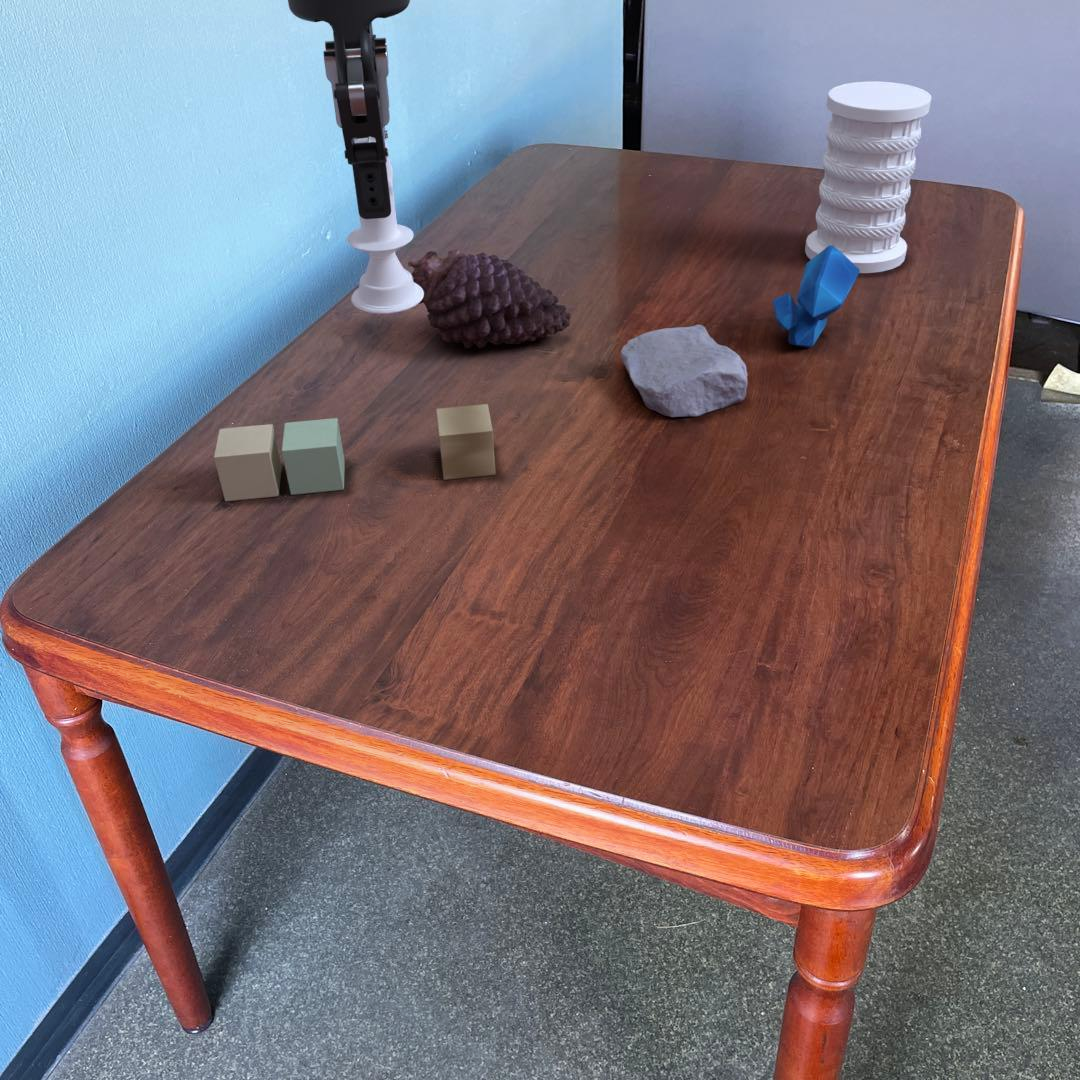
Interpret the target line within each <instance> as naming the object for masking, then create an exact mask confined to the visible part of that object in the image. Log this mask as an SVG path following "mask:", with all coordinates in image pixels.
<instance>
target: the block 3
mask: <svg viewBox="0 0 1080 1080" xmlns="http://www.w3.org/2000/svg"><path fill="white" fill-rule="evenodd" d="M435 411H436V420H437V421H436V422H437V429H438V430H437V431H438V440H439V449H440V458H441V459H440V460H441V468H442V469H441V470H442V479H443V480H444V481H447V480H456V479H467V478H477V477H486V476H487V477H489V476H496V462H495V461H496V460H495V459H496V458H495V447H494V445H495V444H494V432H493V431H494V430H493V425H492V419H491V413H490V409H489V404H488V403H485V404H484V403H483V404H474V405H473V404H472V405H462V406H461V405H460V406H452V407H441V408H436V409H435Z"/></svg>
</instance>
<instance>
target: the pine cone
mask: <svg viewBox="0 0 1080 1080" xmlns="http://www.w3.org/2000/svg"><path fill="white" fill-rule="evenodd" d="M438 256H439V255H438V253H437V251H433V250H430V251H427V252H426V253H425V254H424V255H423V256H422V257H421V258H420V259H418V260H410V261H408V262H407V266H408V267H412V268H413V271H412V273H411V276H412V278H413V282H414V283H416V284H418V285H419V286H420V287H421V288H422V289H423V291H424V297H423V299H422V300H421V302H420V303H418V304H417V305H421V304H424V306H425V308H426V311H427V313H428V314H427V319H428V320H429V324H430V326H431V327H432V328H434V329H437V333H438V335H440V336H441V338H442V341H443V342H446V343H453V342H455V343H456V344H463V346H464V348H469V349H470V348H472V347H473V346H476V347H477V348H479V349H481V348H484V347H485V346H486V345H487V344H488V342H489V343H491V344H492V345H494V346H497V345H501V344H506V345H511V344H513V345H516V346H517V345H519V344H521V343H525V342H535V341H536V340H537V339H543V338H546V337H547V336H553V335H556V334H557V333H559V332H563V331H564V330H566V328H567V327H570V324H571V322H570V321H571V318H572V315H571V313H569V312H567V307H566V305H563V304H558V303H559V298H558V296H557V295H556V294H554V293H553V292H552V290H551V289H550V288H549V289H545V288H543V287H541V285H540V283H539V282H538V281H535V279H534V278H533V277H530V276H528V275H527V274H526V273H525V271H524V270H523V269H521V268H518V267H517V266H515V265H514V264H513V263H511V262H510V261H509V259H502V258H500V257H499V256H498V255H496V254H492V255H488V254H487V253H485V252H480V253H478V254H472V253H468V254H467V255H466V254H464V253H463V252H461V251H460V250H458V249H452V250H451V249H450V250H449V251H447V257H445V258H441V257H438Z"/></svg>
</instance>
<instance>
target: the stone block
mask: <svg viewBox="0 0 1080 1080" xmlns="http://www.w3.org/2000/svg"><path fill="white" fill-rule="evenodd" d="M620 360H621V361H622V363H623V364H624V366H625V369H626V372H627V373H628V374H629V378H630V380H631V381H632V383H633V385H634V387H635V388H636V389H637V390H638V392H639V394H640V396H641V398H642V401H643V404H644V406H645V407H647V409H649V410H652V411H654V412H657V413H658V414H660V415H662V416H665V417H670V418H677V417H678V418H679V417H682V418H683V417H700V416H702V415H705V414H707V413H711V412H712V411H716V410H719V409H723V408H727V407H730V406H732V405H734V404H735V405H736V404H738V403H741V402H743V401H744V400H745V399H746V396H747V388H748V385H749V384H748V376H749V373H748V371H747V365H746V363H745V362H744V360H742V357H741V356H740V354H738V353H737V352H736V351H734V350H732V349H731V348H729V347H728V346H727V345H721V344H718V342H716V341H715V340H714V339H713V338H712V337H711V336H710V335H709V333H708V330H707V329H706V327H705V326H704V325H702V324H695V325H692V326H688V327H687V326H686V327H679V326H678V327H677V326H676V327H671V328H669V327H665V328H661V329H654V330H652V331H646V332H644V333H642V334H640V335H638V336H636V337H634V338H632V339H628V341H627V343H626V344H624V345H623V346H622V347H621V351H620Z"/></svg>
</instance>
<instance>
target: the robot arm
mask: <svg viewBox="0 0 1080 1080" xmlns="http://www.w3.org/2000/svg"><path fill="white" fill-rule="evenodd" d="M410 2H411V0H287V4H288V9H289V11H290V12H291V14H292V15H294V16H295V17H296V18H298V19H300V20H303V21H307V22H311V23H319V22H325V23H327V24H328V25H329V26H330V27H331V30H332V35H333V36H332V37H333V40H325V41H324V48H325V50H323V51H322V52H323V53H322V54H323V63H324V69H325V76H326V79H327V80H328V82H330V85H331V92H332V99H333V109H334V115H335V121H336V124H337V126H338V127H339V128H340V129H341V131H342V137H343V142H344V148H345V149H344V150H343V151H344V159H345V160H347V165H350V166H351V167H352V174H353V181H354V188H355V195H356V204H357V211H358V215H360V216H361V217H362V218H363V219H376V218H386V217H388V216H389V215H390V214H391V202H390V194H389V185H388V177H387V168H386V162H387V157H389V158H390V154H389V155H388V152H389V148H388V149H387V148H386V147H385V140H386V141H387V139H389V133H388V129H386V126H387V125H388V124H389V123H390V118H391V117H390V115H391V114H390V96H389V89H388V86H389V85H388V79H387V78H388V76H389V71H390V70H389V53H388V44H387V38H386V37H377V35H376V34H374V29H373V21H374V20H376V19H387V18H391V17H394V16H396V15H399V14H401V13H403V12H405V10H406V9H407V8H408V7H409V6H410ZM368 137H374V138H375V139H376V142H367V143H355V140H356V139H359V138H368ZM360 216H359V217H360Z"/></svg>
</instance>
